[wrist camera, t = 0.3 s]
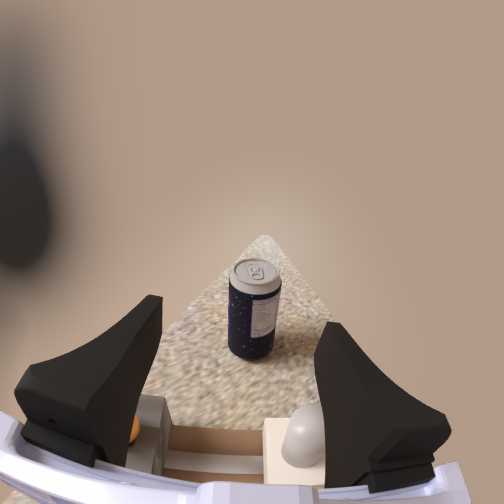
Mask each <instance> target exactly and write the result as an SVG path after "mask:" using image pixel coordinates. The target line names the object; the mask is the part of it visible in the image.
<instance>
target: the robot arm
mask: <svg viewBox="0 0 504 504" xmlns="http://www.w3.org/2000/svg"><path fill="white" fill-rule="evenodd" d="M162 301H163V297H160V296H154V295H148V296H146V297H145V298H144V299H143V300H142V301H141V302H140V303H139V304H138V305H137V306H136V307H135V308H133V309H132V310H131V311H130V312H129V313H128V314H127V315H126V316H124V317H123V318H122V319H121V320H120V321H119V322H117V323H116V324H115V325H113V326H112V327H111V328H109V329H108V330H107V331H105V332H104V333H103V334H101V335H100V336H98V337H97V338H95V339H93V340H92V341H90V342H89V343H87V344H85V345H83V346H81V347H79V348H77V349H75V350H73V351H71V352H69V353H67V354H64V355H61V356H59V357H56V358H54V359H51V360H47V361H44V362H40V363H37V364H33V365H30V366H29V367H28V369H27V370H26V371H25V373H24V375H23V376H22V378H21V380H20V381H19V383H18V385H17V387H16V388H15V390H14V395H15V397H16V400H17V402H18V404H19V405H20V407H21V409H22V411H23V412H24V414H25V415H26V417H27V421H26V423H25V425H24V424H23V423H21V422H20V421H18V420H17V419H15V418H13V417H11V416H9V415H7V414H5V413H4V412H2V411H0V481H1V482H2V483H4V484H6V485H8V486H9V487H11V488H13V489H15V490H16V491H18V492H20V493H22V494H24V495H26V496H27V497H29V498H31V499H33V500H35V501H37V502H39V503H41V504H471V503H472V502H471V498H470V495H469V492H468V489H467V486H466V483H465V480H464V477H463V474H462V472H461V469H460V466H459V463H458V461H453V462H449V463H446V464H442V465H439V466H437V467H434V468H433V467H432V464H431V463H432V462H433V461H434V460H435V459H434V456H433V453H434V452H435V451H436V450H437V449H438V448H439V447H440V446H442V445H443V444H444V443H445V441H446V440H447V439H448V438H449V436H450V434H451V427H450V425H449V423H448V420H447V418H446V416H445V414H443V413H441V412H439V411H437V410H435V409H433V408H431V407H429V406H427V405H425V404H424V403H422V402H420V401H419V400H417V399H415V398H414V397H413V396H411V395H409V394H408V393H407V392H405V391H404V390H403V389H401V388H400V387H399V386H398V385H396V384H395V383H394V382H393V381H392V380H390V379H389V378H388V377H387V376H386V375H385V374H384V373H383V372H382V371H381V370H380V369H379V368H378V367H377V366H376V365H375V364H374V363H373V362H372V361H371V360H370V359H369V357H368V356H367V355H366V354H365V353H364V352H363V351H362V349H361V348H360V347H359V346H358V345H357V343H356V342H355V341H354V339H353V338H352V337H351V336H350V334H349V333H348V332H347V331H346V330H345V328H344V327H343V326H342V325H341V324H340V323H336V322H327V323H326V326H325V328H324V331H323V333H322V336H321V338H320V341H319V343H318V345H317V348H316V350H315V353H314V367H315V376H316V382H317V387H318V392H319V397H320V402H321V407H322V412H323V419H324V431H325V483H324V489H316V488H313V487H311V486H309V485H297V484H294V485H293V484H257V483H242V482H231V481H212V482H206V483H196V482H189V481H183V480H178V479H172V478H167V477H162V476H157V475H153V474H148V473H144V472H140V471H136V470H132V469H128V468H125V466H126V459H127V453H128V447H129V442H130V437H131V432H132V427H133V422H134V418H135V414H136V410H137V406H138V402H139V398H140V395H141V392H142V389H143V386H144V384H145V381H146V379H147V376H148V374H149V371H150V369H151V366H152V364H153V361H154V359H155V356H156V353H157V350H158V347H159V343H160V339H161V335H162Z"/></svg>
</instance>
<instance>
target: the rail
mask: <svg viewBox="0 0 504 504" xmlns="http://www.w3.org/2000/svg"><path fill="white" fill-rule="evenodd" d="M136 416H137V418H138V420H139V423H140V431H139V434H138V436H137V437H136V438H135V439H134V440H133V441H132V442H130V443H129V447H128V453H127V459H126V466H125V468H128V469H132V470H136V471H140V472H144V473H148V474H153V475H157V476H162V477H167V478H172V479H178V480H183V481H189V482H196V483H206V482H212V481H231V482H242V483H257V484H264V467H263V436H262V432H263V430H227V429H210V428H197V427H186V426H177V425H173V424H172V420H171V417H170V413H169V410H168V406H167V403H166V399H165V397H159V396H151V395H144V394H141V395H140V398H139V402H138V406H137V410H136Z"/></svg>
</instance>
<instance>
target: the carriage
mask: <svg viewBox="0 0 504 504" xmlns="http://www.w3.org/2000/svg"><path fill="white" fill-rule="evenodd" d="M262 436H263V467H264V484H293V485H294V484H297V485H309V486H311V487H313V488H316V489H324V483H325V431H324V419H323V412H322V407H321V405H318V404H307V405H304V406H301V407H299V408H298V409H297V410H295V411H294V413H293V414H292V416H291V418H265V421H264V427H263V432H262Z"/></svg>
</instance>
